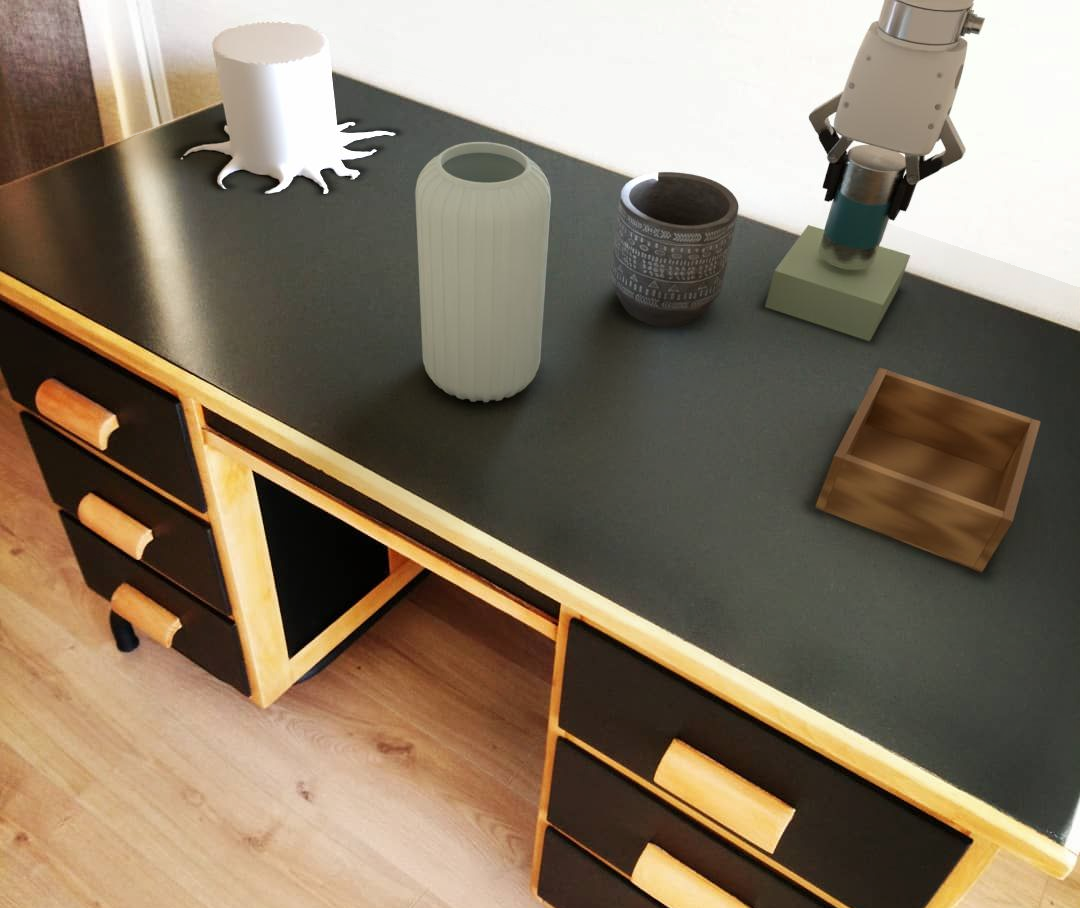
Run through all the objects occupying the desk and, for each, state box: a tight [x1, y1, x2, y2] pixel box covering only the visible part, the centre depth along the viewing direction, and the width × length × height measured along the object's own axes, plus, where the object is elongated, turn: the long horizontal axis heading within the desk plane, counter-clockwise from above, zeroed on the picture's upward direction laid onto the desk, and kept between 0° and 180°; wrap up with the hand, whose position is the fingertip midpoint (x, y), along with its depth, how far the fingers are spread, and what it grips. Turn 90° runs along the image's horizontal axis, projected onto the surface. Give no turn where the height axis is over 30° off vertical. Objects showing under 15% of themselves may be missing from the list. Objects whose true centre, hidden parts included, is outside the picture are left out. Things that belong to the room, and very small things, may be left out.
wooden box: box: [814, 367, 1041, 573], centre depth 83 cm, size 15×15×7 cm
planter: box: [609, 171, 740, 328], centre depth 100 cm, size 12×12×13 cm
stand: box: [764, 224, 911, 342], centre depth 105 cm, size 12×12×5 cm
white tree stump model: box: [180, 21, 396, 195], centre depth 120 cm, size 25×25×14 cm
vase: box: [414, 141, 552, 403], centre depth 86 cm, size 12×12×22 cm
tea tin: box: [819, 144, 906, 270], centre depth 99 cm, size 6×6×11 cm
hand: (862, 204), depth 98 cm, fingers closed on tea tin, 6 cm apart
